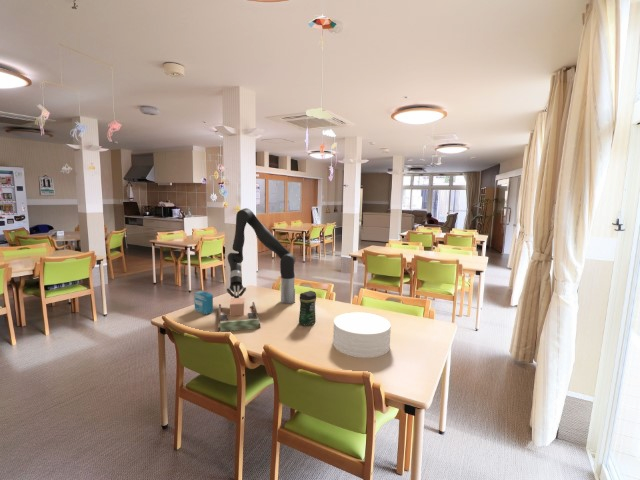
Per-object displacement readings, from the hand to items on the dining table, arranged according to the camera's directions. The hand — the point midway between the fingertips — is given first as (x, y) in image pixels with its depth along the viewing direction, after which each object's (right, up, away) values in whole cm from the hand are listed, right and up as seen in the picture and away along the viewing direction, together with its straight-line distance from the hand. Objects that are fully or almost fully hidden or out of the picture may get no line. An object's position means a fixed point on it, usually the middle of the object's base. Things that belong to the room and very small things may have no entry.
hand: (236, 301), depth 209 cm
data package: (-19, -5, -7) cm, 21 cm away
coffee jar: (+46, -9, -21) cm, 51 cm away
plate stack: (+74, -13, -46) cm, 88 cm away
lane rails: (+5, -6, -15) cm, 17 cm away
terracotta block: (+2, -5, -6) cm, 8 cm away
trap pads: (+4, -6, -14) cm, 16 cm away
